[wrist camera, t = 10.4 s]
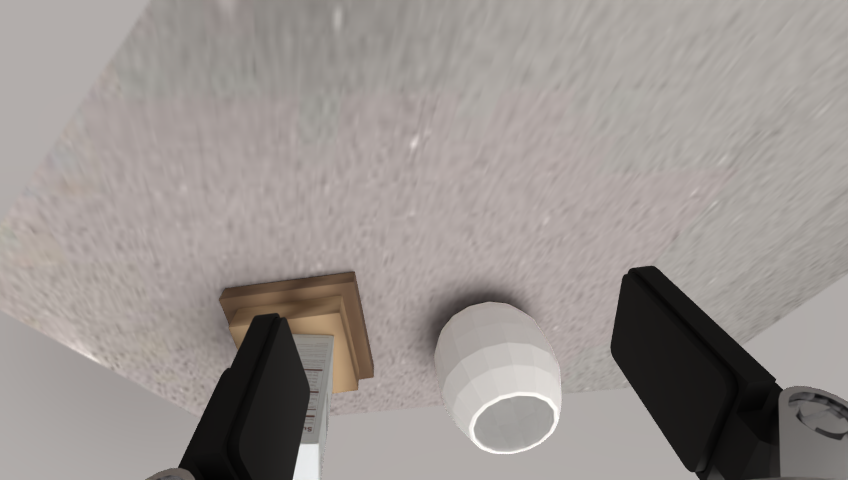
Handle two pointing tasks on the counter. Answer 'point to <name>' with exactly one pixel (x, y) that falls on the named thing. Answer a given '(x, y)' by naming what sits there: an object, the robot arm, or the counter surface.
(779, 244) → the counter surface
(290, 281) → the plinth
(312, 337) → the supplement box
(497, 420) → the white vase
